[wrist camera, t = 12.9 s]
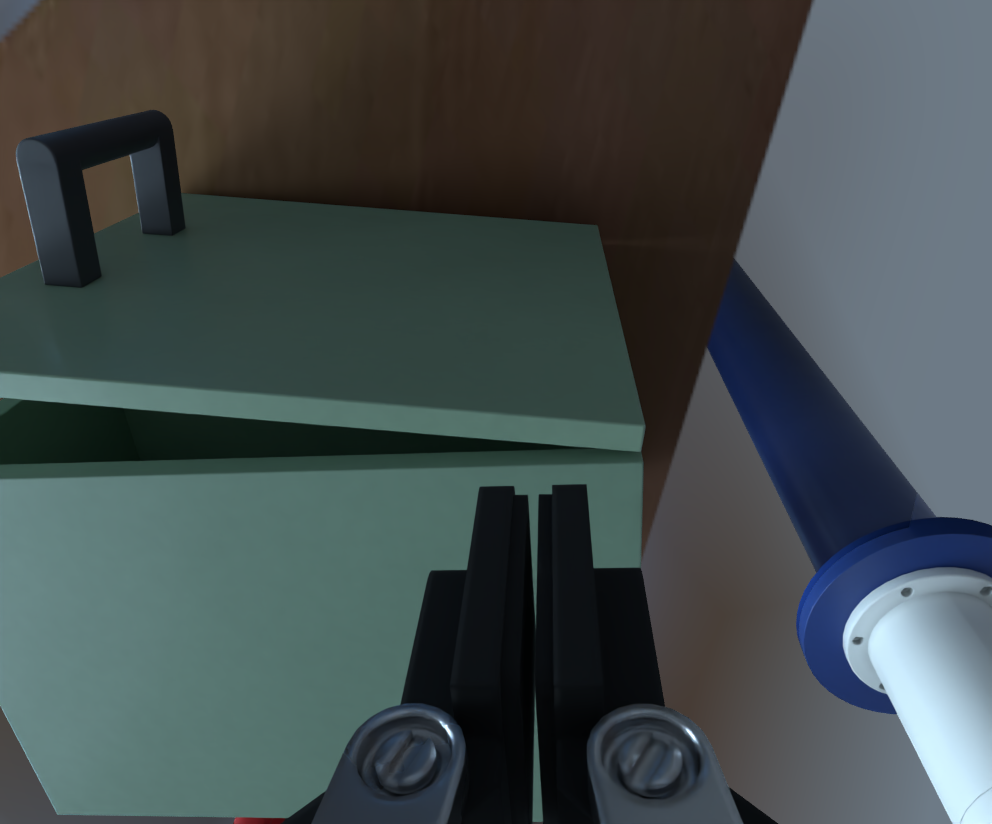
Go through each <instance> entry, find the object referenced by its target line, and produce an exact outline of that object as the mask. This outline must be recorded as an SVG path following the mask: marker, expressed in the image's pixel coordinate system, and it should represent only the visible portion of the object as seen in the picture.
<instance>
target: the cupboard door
mask: <svg viewBox="0 0 992 824" xmlns="http://www.w3.org/2000/svg"><path fill="white" fill-rule="evenodd" d="M127 155H130V158H131V165H132V171H133V177H134V184H135V190H136V196H137V203H138V209H139V213H137V214H135V215H133V216H131V217H129V218H126V219H124V220H122V221H120V222H118V223H116V224H114V225H112V226H109V227H107V228H105V229H103V230H101V231H99V232H97V233H95V234H94V232H93V226H92V221H91V216H90V211H89V205H88V200H87V195H86V189H85V184H84V179H83V173H82V170H83V169H87V168H90V167H93V166H96V165H99V164H102V163H105V162H108V161H111V160H115V159H118V158H121V157H124V156H127ZM16 159H17V165H18V169H19V174H20V178H21V182H22V187H23V191H24V196H25V200H26V204H27V209H28V213H29V218H30V222H31V227H32V231H33V235H34V240H35V244H36V249H37V253H38V257H39V260H37V261H35V262H33V263H31V264H29V265H27V266H25V267H22V268H20V269H18V270H16V271H14V272H12V273H10V274H8V275H6V276H3V277H1V278H0V398H11V399H22V400H34V401H46V402H58V403H69V404H81V405H93V406H105V407H116V408H128V409H140V410H152V411H164V412H175V413H187V414H199V415H211V416H222V417H234V418H246V419H258V420H269V421H281V422H293V423H305V424H317V425H328V426H340V427H352V428H364V429H375V430H387V431H399V432H411V433H422V434H434V435H446V436H458V437H469V438H481V439H493V440H505V441H517V442H528V443H540V444H552V445H564V446H575V447H587V448H599V449H611V450H622V451H634V452H640V451H641V450H642V444H643V439H644V433H645V427H646V426H645V422H644V418H643V414H642V409H641V405H640V401H639V397H638V393H637V389H636V384H635V380H634V376H633V372H632V368H631V364H630V359H629V355H628V351H627V347H626V343H625V338H624V334H623V330H622V326H621V322H620V318H619V313H618V309H617V305H616V301H615V297H614V293H613V288H612V284H611V280H610V276H609V272H608V268H607V263H606V259H605V255H604V251H603V247H602V243H601V238H600V234H599V230H598V226H597V225H586V224H574V223H561V222H548V221H535V220H522V219H509V218H496V217H483V216H470V215H457V214H444V213H432V212H419V211H406V210H393V209H380V208H367V207H354V206H341V205H328V204H315V203H302V202H289V201H277V200H264V199H251V198H238V197H225V196H212V195H199V194H186V193H181V188H180V181H179V173H178V165H177V158H176V150H175V142H174V135H173V129H172V125H171V122H170V120H169V119H168V118H167V116H166V115H164V114H163V113H162V112H160V111H157V110H149V111H145V112H140V113H136V114H131V115H127V116H123V117H118V118H114V119H109V120H105V121H101V122H96V123H92V124H87V125H83V126H79V127H74V128H70V129H65V130H61V131H57V132H52V133H48V134H43V135H39V136H35V137H30V138H26V139H24V140H22V141H21V142H20V143H19V145H18V146H17V149H16Z"/></svg>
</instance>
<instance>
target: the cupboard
mask: <svg viewBox="0 0 992 824" xmlns="http://www.w3.org/2000/svg"><path fill="white" fill-rule="evenodd" d="M643 468H644V463H643V458H642V453H641V451H640V452H634V451H622V450H611V449H599V448H587V447H575V446H564V445H552V444H540V443H528V442H517V441H505V440H493V439H481V438H469V437H458V436H446V435H434V434H422V433H411V432H399V431H387V430H375V429H364V428H352V427H340V426H328V425H317V424H305V423H293V422H281V421H269V420H258V419H246V418H234V417H222V416H211V415H199V414H187V413H175V412H164V411H152V410H140V409H128V408H116V407H105V406H93V405H81V404H69V403H58V402H46V401H34V400H22V399H11V398H4V399H2V400H1V401H0V706H1V707H2V710H3V711H4V713H5V715H6V717H7V719H8V721H9V723H10V725H11V727H12V729H13V730H14V732H15V734H16V736H17V738H18V740H19V742H20V744H21V746H22V748H23V750H24V751H25V753H26V755H27V757H28V759H29V761H30V763H31V765H32V767H33V769H34V771H35V772H36V774H37V776H38V778H39V780H40V782H41V784H42V786H43V788H44V790H45V791H46V794H47V795H48V797H49V799H50V801H51V803H52V805H53V807H54V809H55V811H56V813H57V814H59V815H122V816H189V817H253V818H289V817H290V816H292V815H293V814H294V813H296V812H297V811H299V810H300V809H301V808H303V807H304V806H305V805H307V804H308V803H310V802H311V801H312V800H314V799H315V798H317V797H318V796H319V795H321V794H322V793H323V792H325V791H326V790H327V788H328V786H329V783H330V781H331V779H332V777H333V774H334V772H335V770H336V768H337V766H338V763H339V761H340V759H341V757H342V754H343V752H344V750H345V748H346V746H347V744H348V742H349V740H350V739H351V737H352V736H353V734H354V733H355V731H356V730H357V729H358V728H359V727H360V726H361V725H362V724H363V723H364V722H365V721H366V720H368V719H369V718H370V717H371V716H373V715H375V714H377V713H379V712H381V711H382V710H384V709H386V708H389V707H393V706H397V705H400V703H401V699H402V694H403V690H404V685H405V680H406V676H407V671H408V666H409V662H410V657H411V653H412V648H413V643H414V639H415V634H416V629H417V625H418V620H419V616H420V611H421V606H422V602H423V597H424V592H425V588H426V583H427V579H428V576H429V573H430V572H431V570H467V566H468V559H469V552H470V546H471V539H472V532H473V525H474V518H475V512H476V505H477V498H478V491H479V487H480V486H514V488H515V495H528V502H529V519H530V536H531V554H532V571H533V589H534V606H535V624H536V595H537V546H538V497H539V494H552V485H566V484H586V485H587V494H588V506H589V519H590V531H591V543H592V555H593V567H594V568H639V567H640V568H641V544H642V506H643ZM533 822H543V813H542V796H541V780H540V764H539V747H538V731H537V715H536V696H535V723H534V775H533Z"/></svg>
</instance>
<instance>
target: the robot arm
mask: <svg viewBox="0 0 992 824" xmlns="http://www.w3.org/2000/svg"><path fill="white" fill-rule="evenodd" d="M843 649H844V652H845V656H846V658H847V660H848V662H849V664H850V666H851V668H852V670H853V672H854V673H855V674H856V675H857V677H858V678H859V679H860V680H861V681H863V682H864V683H865V684H867V685H868V686H869V687H871V688H873V689H875V690H877V691H879V692H881V693H885V694H888V696H889V698H890V700H891V702H892V704H893V706H894V708H895V710H896V712H897V714H898V716H899V718H900V720H901V722H902V724H903V726H904V728H905V730H906V732H907V734H908V736H909V738H910V740H911V742H912V744H913V746H914V748H915V750H916V752H917V754H918V756H919V758H920V760H921V762H922V764H923V766H924V768H925V770H926V772H927V774H928V776H929V778H930V780H931V782H932V784H933V786H934V788H935V790H936V792H937V794H938V796H939V798H940V800H941V802H942V804H943V806H944V808H945V810H946V812H947V814H948V815H949V818H950V820H951V822H952V823H953V824H992V578H991V577H989V576H987V575H986V574H983V573H980V572H977V571H973V570H970V569H963V568H956V567H936V568H930V569H923V570H918V571H915V572H911V573H908V574H904V575H901V576H899V577H897V578H895V579H892V580H890V581H888V582H886V583H884V584H883V585H881V586H880V587H878V588H876V589H875V590H873V591H872V592H871V593H870V594H869V595H867V596H866V597H865V598H864V599H863V600H862V601H861V602H860V603H859V604H858V605H857V607H856V608H855V609H854V610H853V611H852V613H851V615H850V617H849V619H848V621H847V623H846V625H845V629H844V633H843ZM535 696H536V715H537V731H538V747H539V764H540V780H541V796H542V813H543V824H778V823H777V822H775V821H774V820H772V819H771V818H770V817H768V816H767V815H766V814H764V813H763V812H762V811H760V810H759V809H757V808H756V807H755V806H754V805H752V804H751V803H750V802H748V801H747V800H745V799H744V798H743V797H741V796H740V795H739V794H737V793H736V792H735V791H733V790H732V789H731V788H729V787H728V785H727V783H726V780H725V778H724V775H723V772H722V770H721V768H720V765H719V763H718V760H717V758H716V755H715V753H714V750H713V748H712V746H711V744H710V742H709V741H708V739H707V737H706V736H705V734H704V733H703V731H702V730H701V729H700V728H699V727H698V726H697V725H696V724H695V723H694V722H692V721H691V720H690V719H689V718H688V717H686V716H684V715H682V714H680V713H679V712H677V711H675V710H673V709H671V708H667V707H665V705H664V698H663V692H662V686H661V680H660V674H659V669H658V663H657V657H656V651H655V646H654V639H653V634H652V627H651V622H650V616H649V610H648V604H647V598H646V592H645V587H644V580H643V575H642V571H641V568H640V567H639V568H594V567H593V555H592V543H591V531H590V519H589V506H588V494H587V485H586V484H566V485H552V494H539V497H538V546H537V595H536V624H535V606H534V589H533V571H532V554H531V536H530V519H529V502H528V495H515V488H514V486H480V487H479V491H478V498H477V505H476V512H475V518H474V525H473V532H472V539H471V546H470V552H469V559H468V566H467V570H431V572H430V573H429V576H428V579H427V583H426V588H425V592H424V597H423V602H422V606H421V611H420V616H419V620H418V625H417V629H416V634H415V639H414V643H413V648H412V653H411V657H410V662H409V666H408V671H407V676H406V680H405V685H404V690H403V694H402V699H401V703H400V705H397V706H393V707H389V708H386V709H384V710H382V711H381V712H379V713H377V714H375V715H373V716H371V717H370V718H369V719H368V720H366V721H365V722H364V723H363V724H362V725H361V726H360V727H359V728H358V729H357V730H356V731H355V733H354V734H353V736H352V737H351V739H350V740H349V742H348V744H347V746H346V748H345V750H344V752H343V754H342V757H341V759H340V761H339V763H338V766H337V768H336V770H335V772H334V774H333V777H332V779H331V781H330V783H329V786H328V788H327V790H326V791H325V792H323V793H322V794H321V795H319V796H318V797H317V798H315V799H314V800H312V801H311V802H310V803H308V804H307V805H305V806H304V807H303V808H301V809H300V810H299V811H297V812H296V813H294V814H293V815H292V816H290V817H289V818H288V819H286V820H285V821H283V822H282V823H281V824H533V775H534V723H535Z"/></svg>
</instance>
